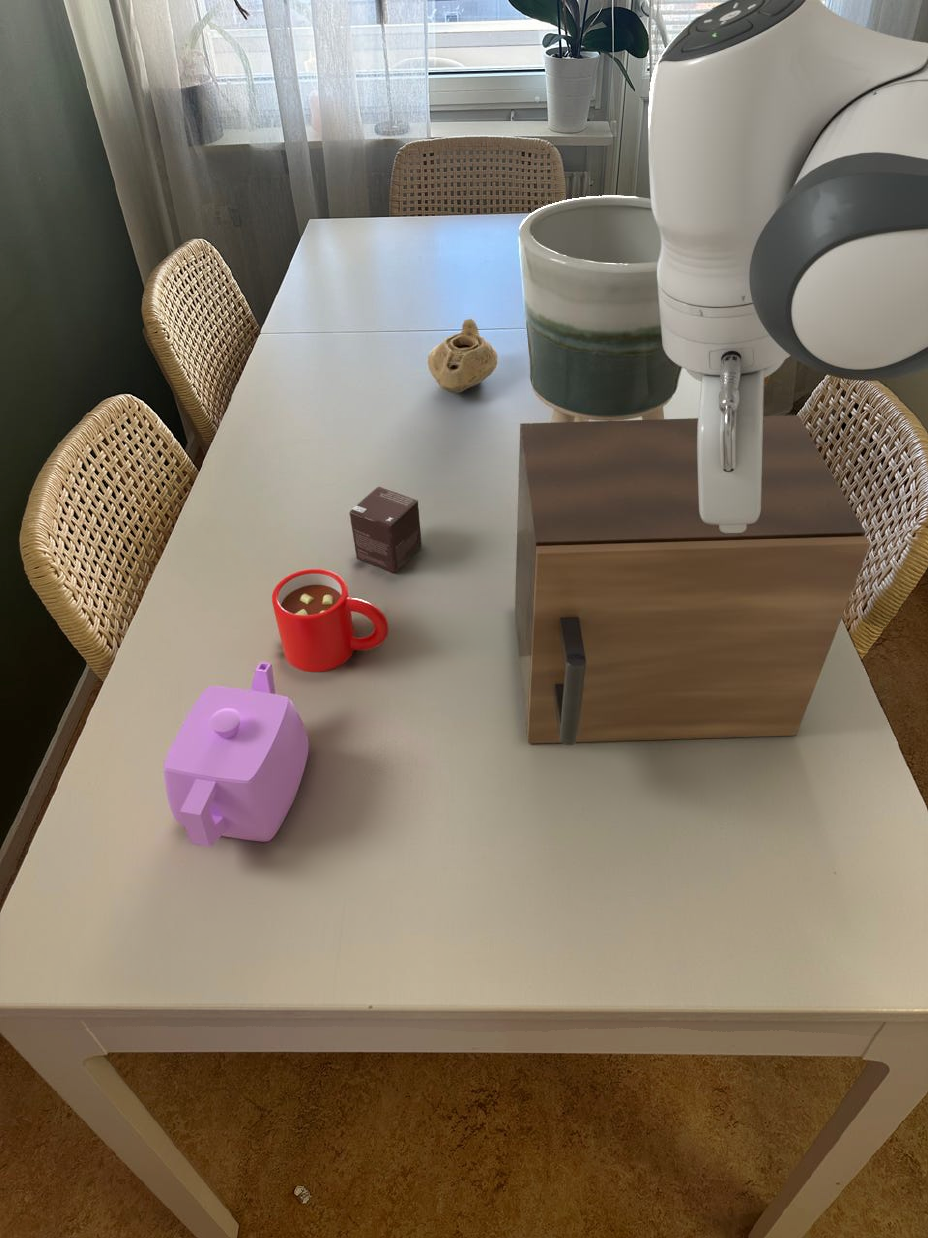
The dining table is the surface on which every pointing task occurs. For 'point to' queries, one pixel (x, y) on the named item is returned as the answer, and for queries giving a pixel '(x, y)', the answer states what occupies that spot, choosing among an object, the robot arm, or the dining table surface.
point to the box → (386, 529)
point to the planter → (595, 310)
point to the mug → (321, 620)
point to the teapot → (236, 762)
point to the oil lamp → (462, 359)
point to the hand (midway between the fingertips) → (735, 480)
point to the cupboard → (654, 494)
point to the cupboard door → (683, 636)
